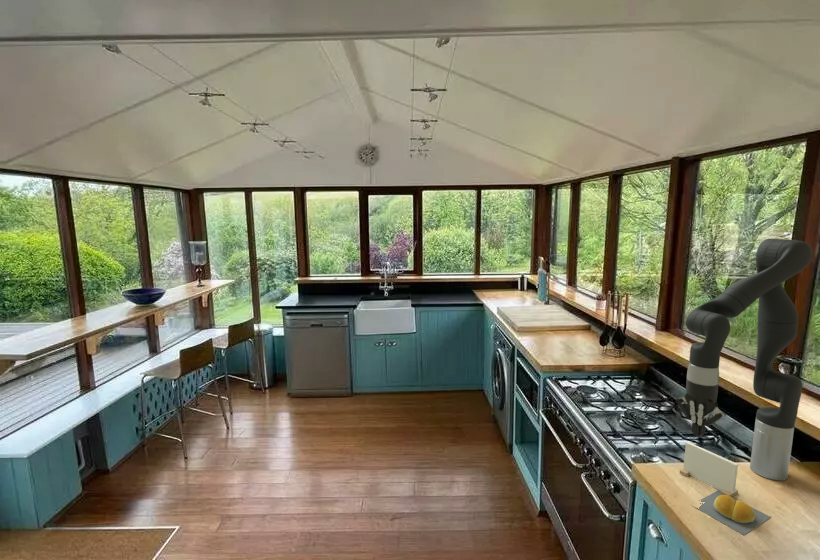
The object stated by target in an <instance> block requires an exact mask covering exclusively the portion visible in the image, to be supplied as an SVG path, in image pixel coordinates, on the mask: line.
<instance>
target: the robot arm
mask: <svg viewBox="0 0 820 560" xmlns="http://www.w3.org/2000/svg"><path fill="white" fill-rule="evenodd" d="M812 258H813V249H812V246H811V245H810V244H809V243H808V242H806V241H802V240H797V239H796V240H795V239H785V238H766V239H764V240H762V241H761V242H760V244H759V245H758V247H757V250H756V255H755V265H756V273H755V274H752V275H750V276H747V277H744V278H742V279H739V280H737V281H735V282H733V283H731V284H730V285H729V286H728V287H726V288H725V289H724V290H723V291H722V292H720V293H719V294H718V295H717V296H716V297H715V298H712V299H711V300H708V301H706V302H705V303H702V304H701V305H699V306H697V307H695V308H694V309H692V310H690V312H689V313H688V314H687V317H686V318H685V321H684V322H685V326H686V328H687V330H688V331H689V332H691V333H693V334H696V335H700V336H703V337H705V339H704V341H703V342H701V341H699V342H693V343H692V344H691V346H690V350H689V359H688V366H687V372H686V382H685V383H686V384H685V394H684V396H681V397H678V398H677V399H676V400H675V401H676V403H677V405H678V406H679V409H680V410H681V411H682V413H683V415H684V417H685V418H686V419H689V420H690V421H691V432H692V434H693V436H696V437H698V438H700V437H702V436H704V435H705V432H706V427H709V426H711V425H713V424H715V423H716V422H718V421H719V420H721V419H723V418H725V417H726V416H727V414H726V412H724V411H721V409H719V405H718V402H717V399H718V393H719V382H720V358H721V352H722V350H723V347H724V346H725V343H726V341H727V338H728V337H729V334H730V332H731V323H730V320H729V318H733V319H734V318H736V317H737V316H739V315H741V314H742V313H743V312H744V311H745V310H747V309H748V307H750V306H751V305H752V304H753V303H754V302H755V301H757V300H758V309H757V326H756V327H757V328H756V329H757V342H756V343H757V347H756V348H757V349H756V359H755V365H754V373H753V380H752V381H753V384H752V386H753V391H754V393H755V395H756V396H758V397H760V398H763V399H766V400H769V401H773V402H776V403H779V406H778V407H772V406H770V407H769V406H767V407H766V406H765V407H759V408H758V409H756V410H757V411H756V414H755V415H756V416H755V421H754V429H753V431H754V432H753V439H752V448H751V455H750V464H749V467H750V470H751V471H753V472H754V473H756V474H757V475H759V476H761V477H763V478H766V479H769V480H773V481H785V480H784V479H786V480H788V478H789V477H788V476H789V468H790V462H791V454H792V449H793V448H792V447H793V439H794V432H795V425H796V421H797V416H798V410H799V405H800V401H801V397H802V396H801V395H802V392H803V391H802V390H803V382H802V380H801V379H800V377H798V376H796V375H792V374H788V373H783V372H779V371H776V370H773V366H774V362H775V359H776V358H777V357H778V355H779V354H780V353H781V352H782V351H784V350H785V349H786V348H787V347H788V346H789V345H790V344H791V343H792V342H793V341H795V339H796V337H797V336H798V332H799V331H798V329H799V326H798V325H799V313H798V310H797V308H796V306H795V304H794V303H793V301H792V299H791V298H790V297H789V295H788V294H787V292H786V290H785V288H784V286H783V284H782V283H784V282H786V281H787V280H789V279H791V278H793V277H794V276H796V275H797V274H799V273H800V272H802V271H803V270H805V268H807V266H808V265H809V264H810V263H811V261H812ZM711 413H712V417H711V418H708V417H709V416H710V414H711Z"/></svg>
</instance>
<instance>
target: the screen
mask: <svg viewBox="0 0 820 560" xmlns="http://www.w3.org/2000/svg"><path fill="white" fill-rule="evenodd" d="M684 449H685V450H684V459H683V467H682V468H681V469H680V470H679V474H681V475H682V476H683V477H688V476H691V477H693V478H695V479H696V480H699V481H701V482H702V483H705V484H707V485H709V486H711V487H712V488H714V489H715V490H719V491H721V495H728V496H730V497H733V498H734V496H736V495H738V494H739V490H738V489H737V488H736V487H737V485H736V484H737V477H738V467H739V464H738V463H736V462H734V461H733V460H730V459H729V458H728V459H727V458H725V457H724V456H721V455H719V454H716V453H714V452H712V451H710V450H708V449H706V448H703V447H700V446H698V445H696V444H694V443H692V442H689V441H687V442H685V448H684Z"/></svg>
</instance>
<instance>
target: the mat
mask: <svg viewBox="0 0 820 560" xmlns="http://www.w3.org/2000/svg"><path fill="white" fill-rule="evenodd" d="M721 492H722V491H720V490H718V489H716V490H715V491H714V492H712V493H710V494H709V495H706V496H704V497H703V498H701V499H699V500H698V501H700V500H701V502H705V503H704V504H703V503H702V505H701V506H700V507H699V509H698V510H699V511H700V510H701V512H702V513H704V514H706V515H708V516H709V517H711V518H713V519H714V520H716V521H717V522H719V523H722V524H723V525H725V526H727V527H728V528H730V529H732V530H733V531H735V532H737V533H739V534H741V535H742V536H746V535H747V534H748V533H750V532H751V531H753V530H754V529H756V528H758V527H759V526H760V525H762V524H763V523H765V522H766V521H768V520H769V519H770V518H771V516H769V515H768V514H766V513H764V512H762V511H760V510H758V509H756V508H754V507H752V506H750V507H751V508H752V509H753V510H754V513H755V520H754V521H753V522H750V523H738V522H736V521H734V520H732V519H730V518H727V517H725V516H723V515H721V514H720V513H719V512H718V511H716V510H715V508H714V507H713V504H714V501H715V499H716V498H717V497H718V496H720V495H721ZM732 498H733V499H734V500H735V501H737V500H738V499H736V498H735V497H734V496H733V497H732ZM700 504H701V503H700Z"/></svg>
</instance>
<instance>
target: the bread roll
mask: <svg viewBox="0 0 820 560" xmlns="http://www.w3.org/2000/svg"><path fill="white" fill-rule="evenodd" d="M733 498H734V497H733ZM733 498H732V497H730V496H728V495H720V496H718V497H717V498H716V499H715V501H714V504H713V507H714V508H715V510H716V511H718V512H719V513H720V514H721V515H723V516H725V517H727V518H730V519H732V520H734V521H736V522H738V523H750V522H753V521H754V520H755V513H754V510H753V509H752V508H753V507H752V506H751V505H749V504H748V503H746V502H745V501H742V500H739V499H737V501H735V500H734V499H733ZM751 507H752V508H751Z"/></svg>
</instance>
